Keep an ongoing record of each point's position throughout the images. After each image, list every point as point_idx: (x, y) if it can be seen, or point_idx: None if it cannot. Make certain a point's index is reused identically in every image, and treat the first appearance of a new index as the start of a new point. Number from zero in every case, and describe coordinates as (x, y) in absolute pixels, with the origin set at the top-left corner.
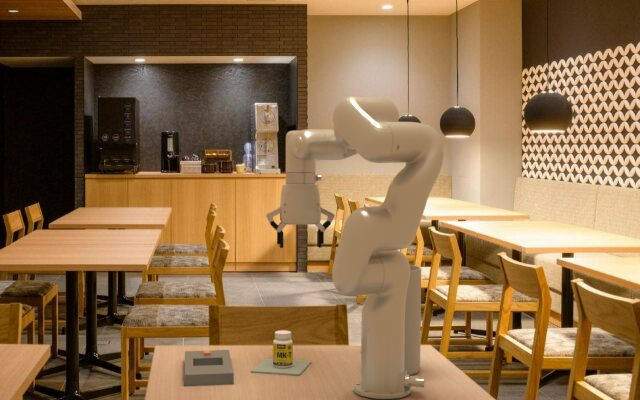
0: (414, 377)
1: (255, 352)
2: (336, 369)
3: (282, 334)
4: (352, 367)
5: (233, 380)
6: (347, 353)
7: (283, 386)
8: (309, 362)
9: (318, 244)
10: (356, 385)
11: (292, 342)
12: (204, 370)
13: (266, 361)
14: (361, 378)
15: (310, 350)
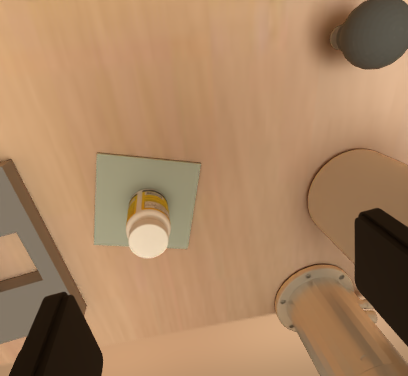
0: (366, 308)
1: (51, 82)
2: (250, 199)
3: (150, 257)
4: (279, 182)
5: (85, 309)
6: (275, 69)
7: (170, 301)
8: (197, 172)
9: (367, 298)
10: (280, 306)
11: (170, 228)
12: (22, 316)
13: (106, 177)
14: (291, 319)
15: (187, 46)
